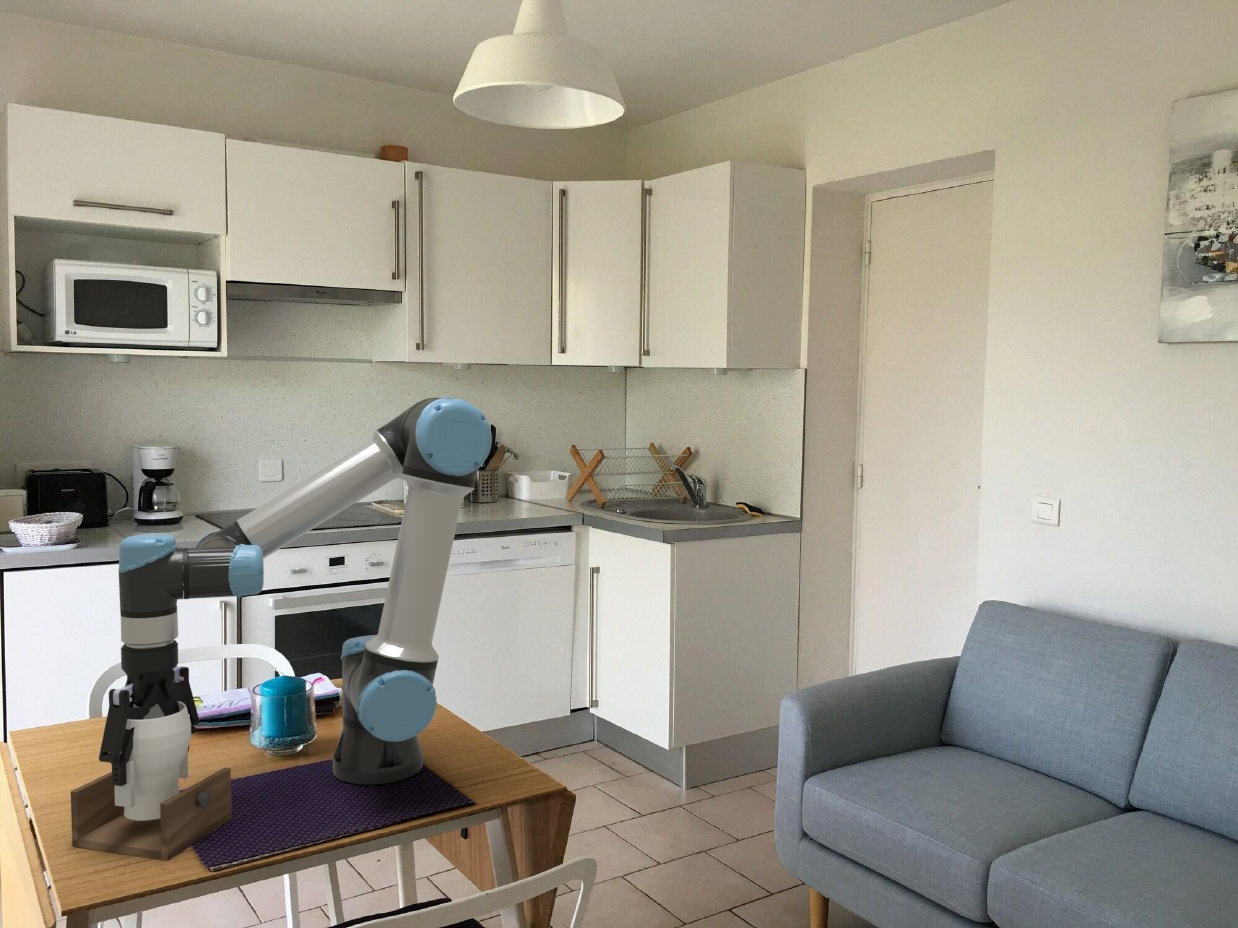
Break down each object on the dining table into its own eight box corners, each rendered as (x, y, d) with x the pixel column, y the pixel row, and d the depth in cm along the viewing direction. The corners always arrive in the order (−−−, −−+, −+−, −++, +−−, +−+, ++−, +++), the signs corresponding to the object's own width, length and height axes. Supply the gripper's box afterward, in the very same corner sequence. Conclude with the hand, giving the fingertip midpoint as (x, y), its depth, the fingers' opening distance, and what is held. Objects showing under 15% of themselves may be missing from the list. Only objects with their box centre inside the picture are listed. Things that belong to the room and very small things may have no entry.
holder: (237, 820, 154) (236, 768, 153) (173, 861, 140) (172, 805, 140) (137, 806, 159) (135, 756, 158) (66, 845, 145) (64, 790, 144)
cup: (99, 811, 148) (97, 710, 147) (170, 790, 157) (168, 694, 156) (133, 832, 142) (131, 726, 141) (206, 808, 150) (204, 708, 149)
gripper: (181, 622, 159) (184, 760, 161) (65, 659, 137) (70, 818, 139) (222, 626, 157) (225, 765, 159) (112, 664, 135) (116, 825, 137)
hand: (152, 790), depth 149 cm, fingers closed on cup, 10 cm apart
